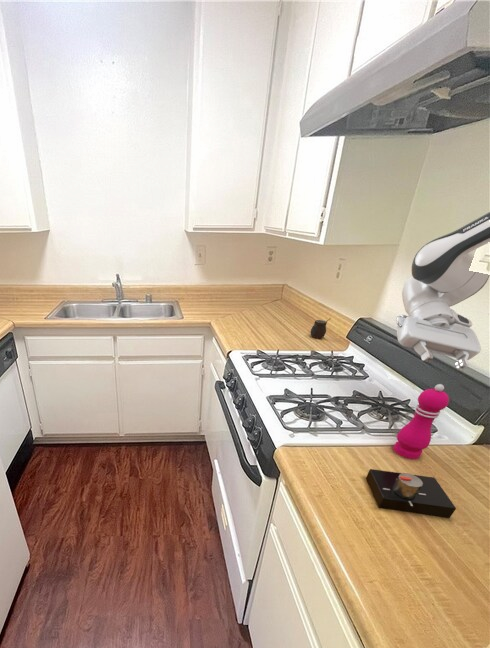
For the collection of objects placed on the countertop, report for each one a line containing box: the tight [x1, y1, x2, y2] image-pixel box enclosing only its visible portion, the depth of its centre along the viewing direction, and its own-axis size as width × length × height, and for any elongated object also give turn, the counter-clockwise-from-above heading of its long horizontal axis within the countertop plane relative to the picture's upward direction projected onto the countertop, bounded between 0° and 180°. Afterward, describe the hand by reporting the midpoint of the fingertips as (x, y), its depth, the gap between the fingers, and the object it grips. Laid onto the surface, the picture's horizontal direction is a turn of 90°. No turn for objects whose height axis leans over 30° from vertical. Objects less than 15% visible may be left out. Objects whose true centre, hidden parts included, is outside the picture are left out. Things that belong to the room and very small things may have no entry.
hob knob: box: [393, 472, 423, 499], centre depth 74 cm, size 4×4×4 cm
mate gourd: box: [310, 317, 331, 339], centre depth 171 cm, size 7×8×10 cm
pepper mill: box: [393, 383, 450, 460], centre depth 87 cm, size 7×7×20 cm
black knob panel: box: [365, 468, 457, 519], centre depth 77 cm, size 14×11×3 cm
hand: (445, 363), depth 84 cm, fingers open, 8 cm apart
